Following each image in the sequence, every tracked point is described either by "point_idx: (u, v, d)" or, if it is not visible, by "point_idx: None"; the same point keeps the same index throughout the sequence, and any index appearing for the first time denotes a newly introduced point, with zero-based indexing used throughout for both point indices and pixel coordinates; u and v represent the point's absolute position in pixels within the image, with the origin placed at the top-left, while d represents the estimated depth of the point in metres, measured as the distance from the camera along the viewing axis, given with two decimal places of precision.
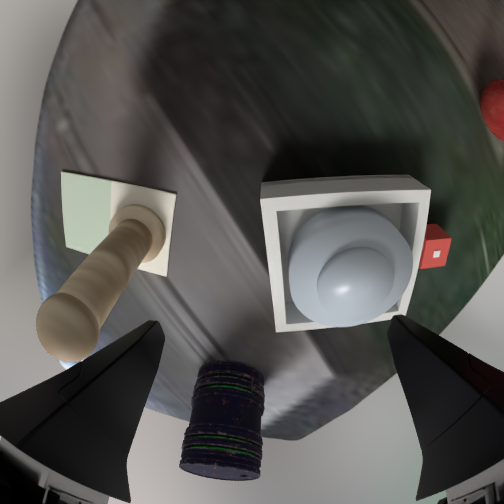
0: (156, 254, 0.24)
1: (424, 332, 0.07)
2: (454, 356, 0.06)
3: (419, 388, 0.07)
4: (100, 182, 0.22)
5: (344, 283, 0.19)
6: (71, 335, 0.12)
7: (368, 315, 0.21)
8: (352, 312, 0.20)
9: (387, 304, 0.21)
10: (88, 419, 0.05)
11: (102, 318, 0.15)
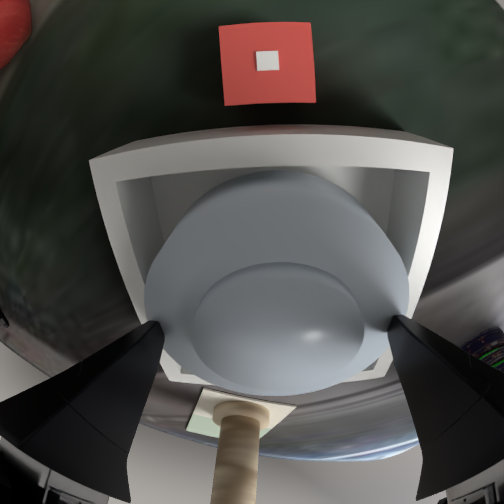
0: (260, 416, 0.22)
1: (424, 333, 0.07)
2: (454, 356, 0.06)
3: (419, 388, 0.07)
4: (194, 418, 0.26)
5: (263, 365, 0.10)
6: None
7: (391, 290, 0.08)
8: (348, 346, 0.09)
9: (372, 251, 0.08)
10: (88, 419, 0.05)
11: None
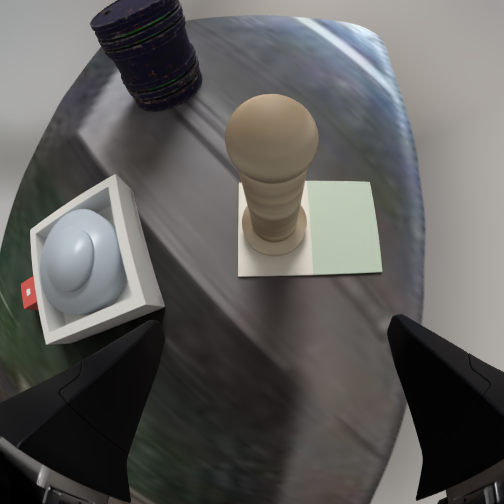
0: (246, 209, 0.24)
1: (424, 332, 0.07)
2: (454, 356, 0.06)
3: (419, 388, 0.07)
4: (327, 270, 0.23)
5: (74, 258, 0.20)
6: (239, 146, 0.11)
7: (56, 230, 0.22)
8: (64, 233, 0.21)
9: (47, 245, 0.22)
10: (88, 419, 0.05)
11: None
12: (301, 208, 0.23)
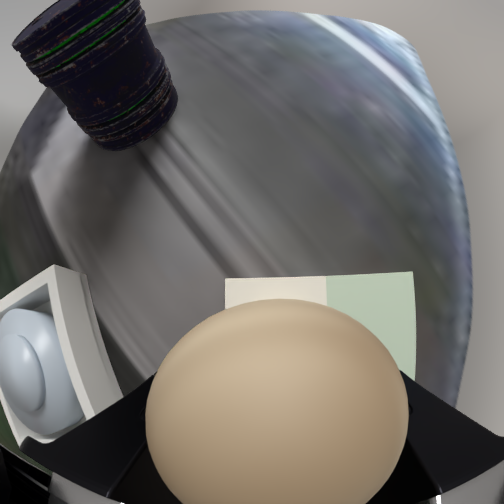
0: None
1: None
2: None
3: None
4: None
5: (23, 379, 0.12)
6: None
7: (2, 328, 0.14)
8: (8, 341, 0.13)
9: None
10: None
11: None
12: None
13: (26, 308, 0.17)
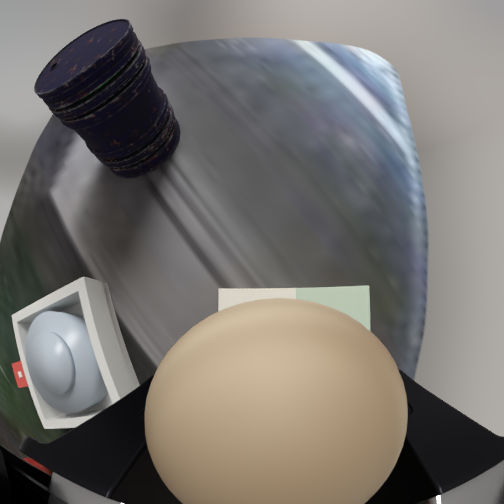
0: None
1: None
2: None
3: None
4: None
5: (56, 367, 0.18)
6: None
7: (35, 327, 0.19)
8: (42, 337, 0.18)
9: (29, 340, 0.19)
10: None
11: None
12: None
13: (55, 310, 0.22)
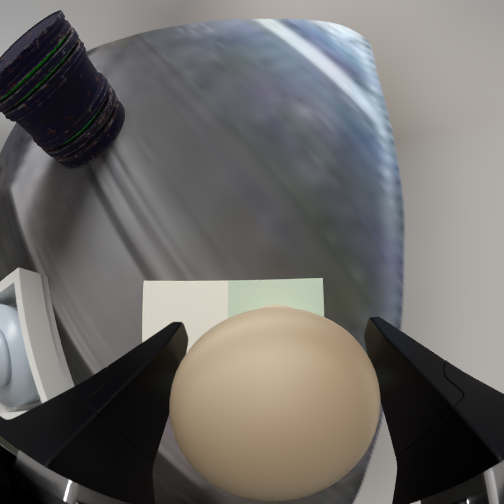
0: None
1: (398, 337, 0.07)
2: (427, 363, 0.06)
3: (392, 394, 0.07)
4: None
5: None
6: (202, 475, 0.04)
7: None
8: None
9: None
10: (118, 428, 0.05)
11: None
12: None
13: (3, 303, 0.18)
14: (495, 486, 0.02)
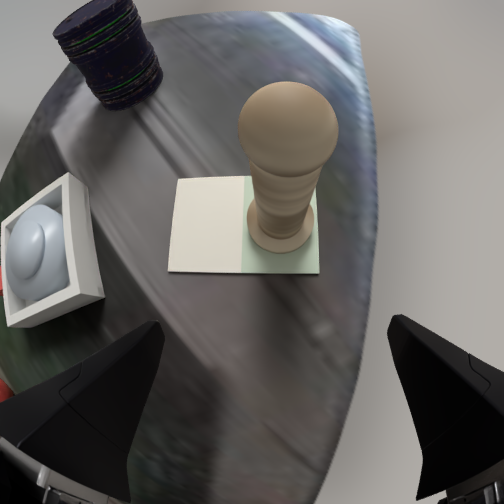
0: (252, 203, 0.23)
1: (424, 332, 0.07)
2: (454, 356, 0.06)
3: (419, 388, 0.07)
4: (256, 268, 0.23)
5: (29, 249, 0.20)
6: (255, 135, 0.10)
7: (19, 223, 0.22)
8: (23, 226, 0.20)
9: (12, 237, 0.21)
10: (88, 419, 0.05)
11: None
12: (309, 205, 0.22)
13: None
14: None
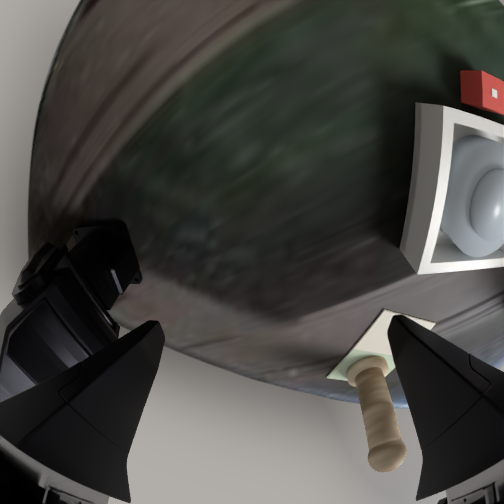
0: (386, 365, 0.29)
1: (424, 332, 0.07)
2: (454, 356, 0.06)
3: (419, 388, 0.07)
4: (349, 355, 0.30)
5: (492, 219, 0.15)
6: (388, 460, 0.18)
7: None
8: None
9: None
10: (88, 419, 0.05)
11: (395, 435, 0.21)
12: None
13: None
14: None
